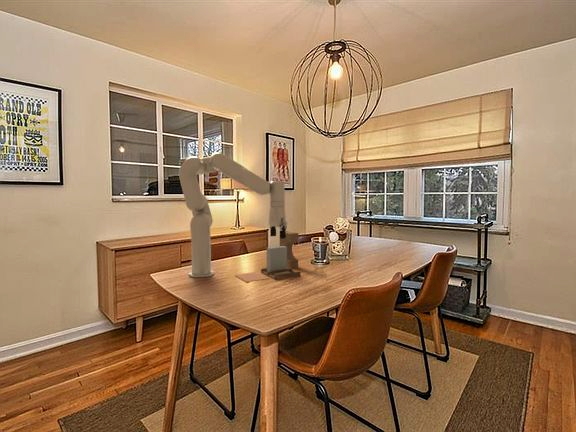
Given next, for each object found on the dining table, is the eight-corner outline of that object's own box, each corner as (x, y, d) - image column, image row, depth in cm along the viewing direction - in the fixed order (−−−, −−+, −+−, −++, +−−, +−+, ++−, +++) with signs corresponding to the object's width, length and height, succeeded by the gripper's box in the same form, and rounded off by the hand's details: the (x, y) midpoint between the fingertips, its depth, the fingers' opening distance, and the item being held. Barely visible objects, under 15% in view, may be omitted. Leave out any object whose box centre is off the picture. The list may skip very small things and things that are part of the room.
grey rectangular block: (266, 273, 167) (266, 247, 166) (282, 271, 173) (283, 245, 171) (270, 275, 164) (270, 248, 163) (286, 273, 169) (287, 247, 168)
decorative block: (298, 268, 180) (299, 233, 178) (290, 269, 177) (291, 233, 175) (286, 264, 189) (287, 230, 187) (278, 265, 185) (279, 231, 184)
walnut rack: (261, 273, 168) (261, 268, 168) (284, 270, 175) (284, 265, 175) (275, 280, 155) (275, 275, 154) (300, 276, 162) (300, 271, 162)
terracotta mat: (235, 275, 162) (235, 274, 162) (256, 272, 169) (256, 271, 169) (246, 282, 151) (246, 281, 150) (268, 279, 157) (268, 278, 157)
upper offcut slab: (273, 276, 161) (273, 273, 161) (287, 273, 167) (287, 271, 167) (279, 278, 157) (279, 276, 157) (293, 275, 163) (293, 273, 163)
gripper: (263, 204, 171) (263, 235, 172) (279, 205, 156) (280, 240, 157) (275, 203, 175) (276, 234, 176) (292, 204, 160) (292, 238, 161)
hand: (277, 237), depth 167 cm, fingers open, 9 cm apart
